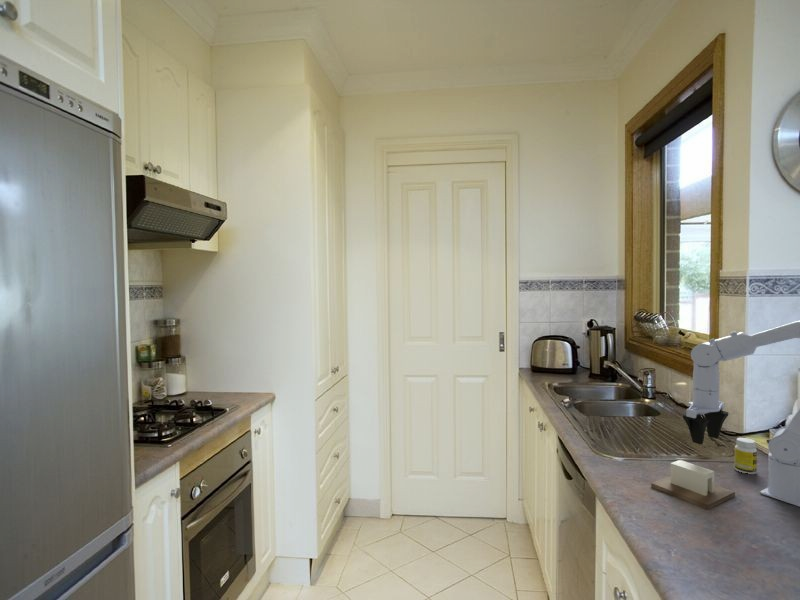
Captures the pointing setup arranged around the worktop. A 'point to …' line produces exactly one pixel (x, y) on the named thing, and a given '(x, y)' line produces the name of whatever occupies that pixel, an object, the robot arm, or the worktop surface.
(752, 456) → the supplement bottle
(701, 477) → the block
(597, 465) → the worktop surface
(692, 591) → the worktop surface
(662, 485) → the pin board
